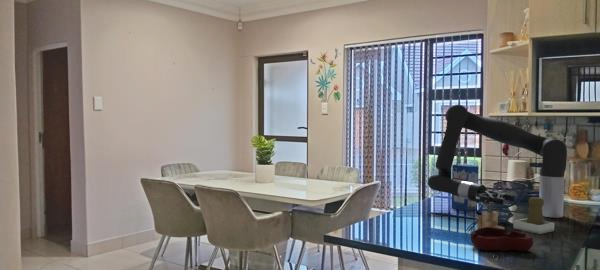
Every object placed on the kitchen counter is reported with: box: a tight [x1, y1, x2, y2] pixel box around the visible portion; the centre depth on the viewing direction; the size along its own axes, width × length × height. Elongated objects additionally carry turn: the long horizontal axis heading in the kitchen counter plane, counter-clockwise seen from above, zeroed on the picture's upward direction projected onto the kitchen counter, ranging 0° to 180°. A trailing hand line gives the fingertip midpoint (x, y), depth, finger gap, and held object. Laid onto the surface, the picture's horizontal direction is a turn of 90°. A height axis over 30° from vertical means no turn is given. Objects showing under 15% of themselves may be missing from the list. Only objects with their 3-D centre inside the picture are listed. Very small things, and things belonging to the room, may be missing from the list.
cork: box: [527, 196, 544, 225], centre depth 177 cm, size 6×6×11 cm
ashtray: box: [470, 227, 534, 253], centre depth 151 cm, size 18×16×5 cm
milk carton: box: [450, 163, 480, 212], centre depth 216 cm, size 10×6×20 cm, turn 25°
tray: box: [512, 217, 555, 235], centre depth 176 cm, size 10×10×3 cm
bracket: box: [477, 203, 506, 230], centre depth 176 cm, size 10×5×9 cm, turn 124°
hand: (508, 200), depth 186 cm, fingers open, 8 cm apart
